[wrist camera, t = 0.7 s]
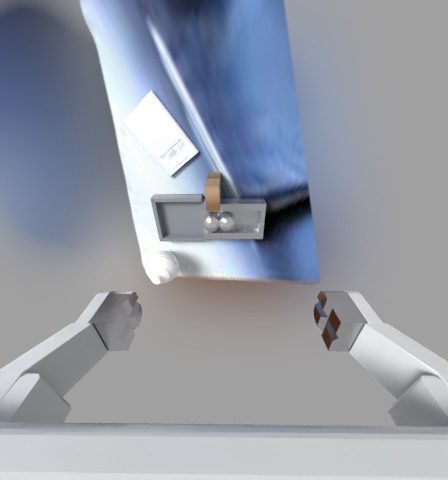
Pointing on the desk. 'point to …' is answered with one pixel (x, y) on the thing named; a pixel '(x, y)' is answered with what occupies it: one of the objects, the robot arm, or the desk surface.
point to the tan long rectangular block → (213, 191)
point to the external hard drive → (160, 134)
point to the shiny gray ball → (211, 221)
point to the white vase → (162, 267)
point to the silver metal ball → (226, 221)
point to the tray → (179, 217)
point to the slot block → (239, 218)
